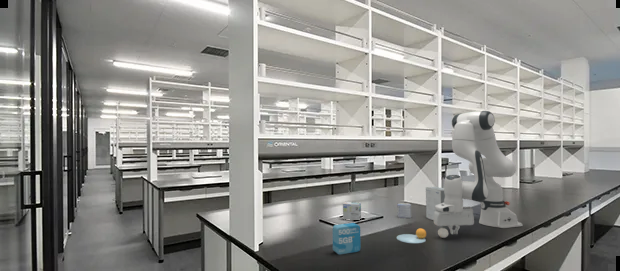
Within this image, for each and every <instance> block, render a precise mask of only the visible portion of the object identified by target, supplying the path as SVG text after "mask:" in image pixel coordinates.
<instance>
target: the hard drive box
mask: <svg viewBox="0 0 620 271" xmlns="http://www.w3.org/2000/svg"><path fill="white" fill-rule="evenodd" d="M444 199H445V194H444V187H438V186H426V187H425V212H426V213H425V215H426V217H425V218H426V219H429V220H432V221H434V212H435V211H436V209H435V206H436V205H439V204H441V203H444Z"/></svg>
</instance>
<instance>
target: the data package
mask: <svg viewBox="0 0 620 271" xmlns="http://www.w3.org/2000/svg"><path fill="white" fill-rule="evenodd" d="M332 251H334V252H335V253H336V254H337V255H339V256H340V255H345V254H352V253H357V252H360V251H361V227H360V225H359V224H357V223H355V222H350V223H341V224H334V225H333V227H332Z"/></svg>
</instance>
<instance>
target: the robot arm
mask: <svg viewBox="0 0 620 271" xmlns="http://www.w3.org/2000/svg"><path fill="white" fill-rule="evenodd" d="M451 119H452V120H451V125H452V129H453V130H452V131H453V132H452V139H451V148H452V152H453V153H454V154H455V156H457V157H459V158H462V159H463V160H466V161H468V169H469V172H470V173H471V174H473V176H474V181H472V180H471V181H470V180H462V176H460V175H458V174H449V175H446V176H445V178H444V183H443V184H444V185H443V188H444V194H445V199H444V203H441V204H439V205H436V206H435V209H436V211H435V212H434V220H433V224H434V226H435V225H436V226H437V227H448V229H449V230H450V234H451V235H458V234H459V233H458V231H460V230H459V229H460V226H473V225H474V224H475V217H474V210H473V208H472V207H471V206H464V200H469V201H474V202H477V203H478V202H479V203H480V217H479V220H478V223H479V224H480V225H483V226H487V227H494V228H501V229H508V228H515V227H516V228H517V227H523V225H524V224H523V223H522V222H520V221H518V216H517V214H516V213H515V212H514V211H512V210H510V208H508V207H507V206H510V205H511V202H510V201H505V200H504V192H503V191H504V190H503V187H502V185H501V184H499V183H498V182H496V180H495V179H494V177H495V178H511V177H513V176H514V175H515V174H516V171H517V167H516V164H515V162H514V160H511V158H508V157H507V156H506V155H505V154H504V153H503V152H502V151H501V149H500V148H499V144H498V143H497V139H496V134H495V131H494V125H495V121H496V120H495V116H494V114H493V113H492V112H491V111H489V110H482V111H481V110H479V111H478V110H477V111H475V110H474V111H469V112H464V113H457V114H455V115H454V116H453V117H452V118H451ZM482 156H483V157H482ZM506 205H507V206H506ZM454 227H455V228H454ZM453 228H454V229H453Z"/></svg>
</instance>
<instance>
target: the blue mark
mask: <svg viewBox="0 0 620 271" xmlns="http://www.w3.org/2000/svg"><path fill="white" fill-rule="evenodd" d="M396 239H397V241H400V242H403V243H407V244H422V243H425V242H426V240H427V239H426V237H425V238H423V239H421V238H418V237H417V235H416V234H411V233H403V234H399V235H397V236H396Z"/></svg>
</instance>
